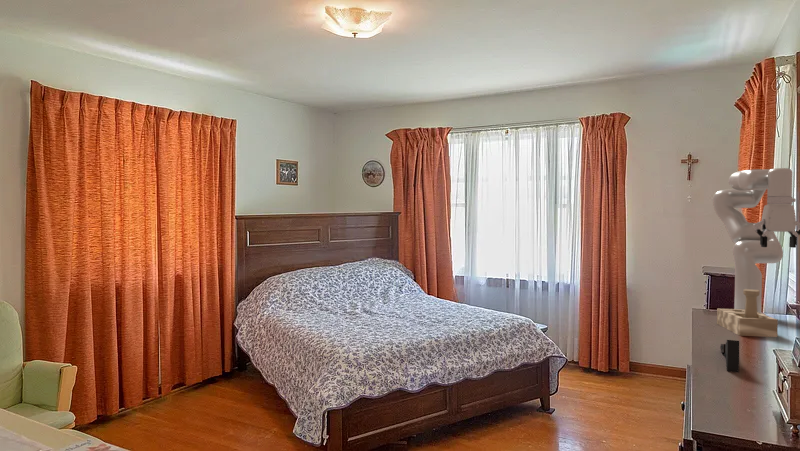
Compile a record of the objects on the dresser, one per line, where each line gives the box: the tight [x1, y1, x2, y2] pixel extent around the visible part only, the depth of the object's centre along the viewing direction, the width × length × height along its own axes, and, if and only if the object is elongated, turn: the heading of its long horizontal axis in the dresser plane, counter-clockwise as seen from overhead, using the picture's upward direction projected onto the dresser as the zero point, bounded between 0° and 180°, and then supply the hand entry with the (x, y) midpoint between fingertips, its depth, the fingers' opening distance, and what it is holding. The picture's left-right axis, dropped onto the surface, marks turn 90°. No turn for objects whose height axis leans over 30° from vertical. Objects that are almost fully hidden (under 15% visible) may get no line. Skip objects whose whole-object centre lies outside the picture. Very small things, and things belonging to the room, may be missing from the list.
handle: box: [743, 289, 760, 318], centre depth 196 cm, size 5×6×15 cm
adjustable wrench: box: [719, 339, 740, 373], centre depth 158 cm, size 8×3×25 cm
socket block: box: [716, 308, 779, 338], centre depth 200 cm, size 20×12×6 cm, turn 170°
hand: (778, 247), depth 204 cm, fingers open, 9 cm apart
